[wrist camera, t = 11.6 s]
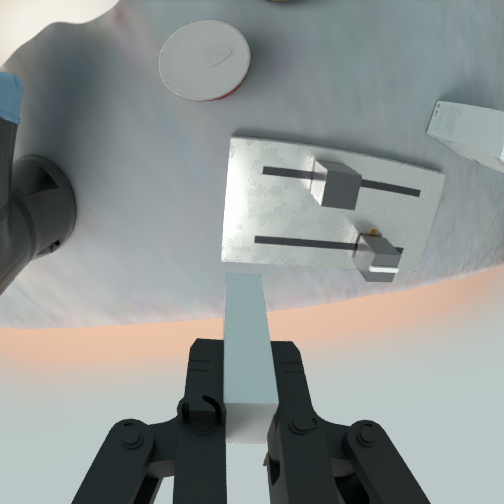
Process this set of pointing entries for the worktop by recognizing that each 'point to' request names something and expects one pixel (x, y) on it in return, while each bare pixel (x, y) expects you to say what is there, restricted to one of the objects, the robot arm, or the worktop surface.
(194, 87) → the canned food
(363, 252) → the fader
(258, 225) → the console
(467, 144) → the skincare box
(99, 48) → the worktop surface
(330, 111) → the worktop surface
